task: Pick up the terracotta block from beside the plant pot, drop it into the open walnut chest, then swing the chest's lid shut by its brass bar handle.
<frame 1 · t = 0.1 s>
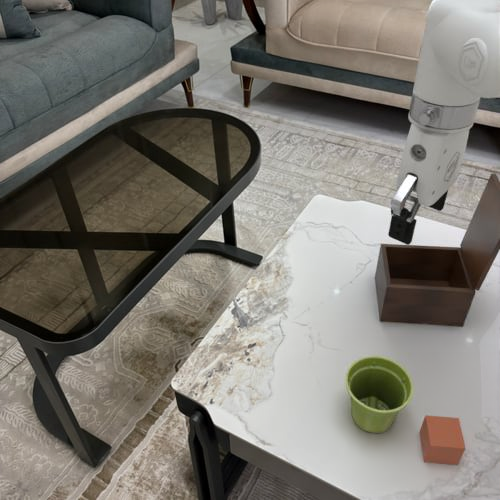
hand: (416, 222, 70), 26 cm above the table, tool pointing down, fingers open, 9 cm apart
lid: (496, 233, 82), point 17 cm above the table, hinge at 95.0°
plant pot: (371, 416, 76), on the table
chest: (416, 300, 94), on the table
block: (438, 448, 72), on the table
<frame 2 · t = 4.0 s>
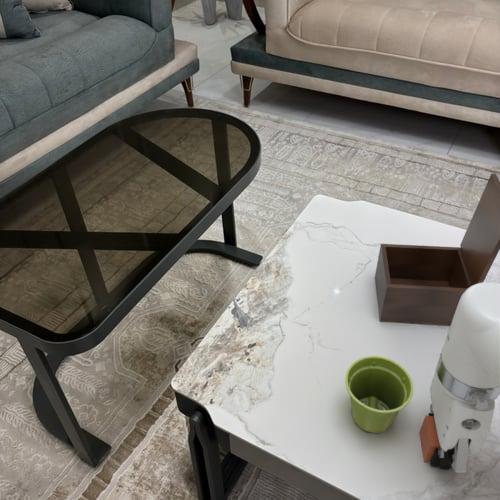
hand: (438, 446, 72), 0 cm above the table, tool pointing down, fingers closed on block, 4 cm apart
block: (438, 448, 72), on the table, touching gripper
everything else where it was.
when the fingers open (6 cm above the table, at t = 11.7 s): block stays where it is, resting on chest.
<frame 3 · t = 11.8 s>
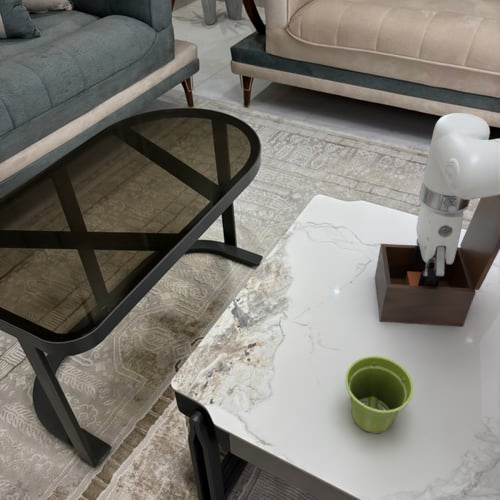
hand: (423, 275, 90), 7 cm above the table, tool pointing down, fingers open, 6 cm apart
block: (417, 298, 94), point 1 cm above the table, touching chest
everything else where it was.
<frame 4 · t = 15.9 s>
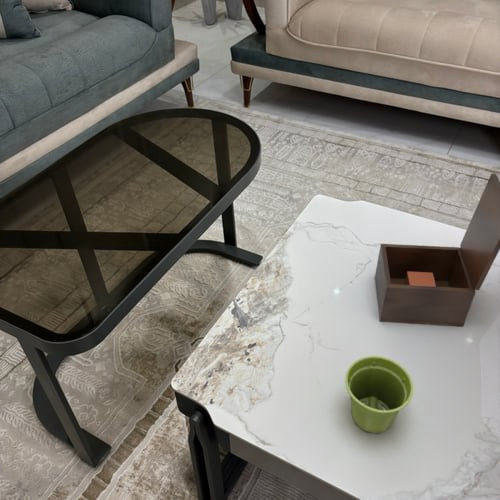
lid: (496, 233, 82), point 17 cm above the table, hinge at 95.0°, touching gripper
everything else where it was.
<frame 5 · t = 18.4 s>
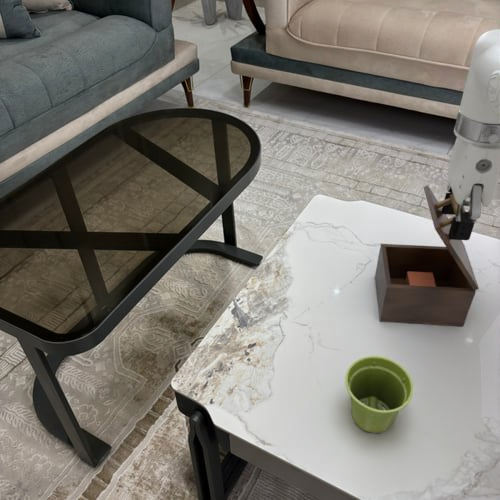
hand: (454, 225, 82), 18 cm above the table, tool pointing down, fingers closed on lid, 6 cm apart
lid: (462, 232, 83), point 17 cm above the table, hinge at 54.6°, touching gripper
everything else where it was.
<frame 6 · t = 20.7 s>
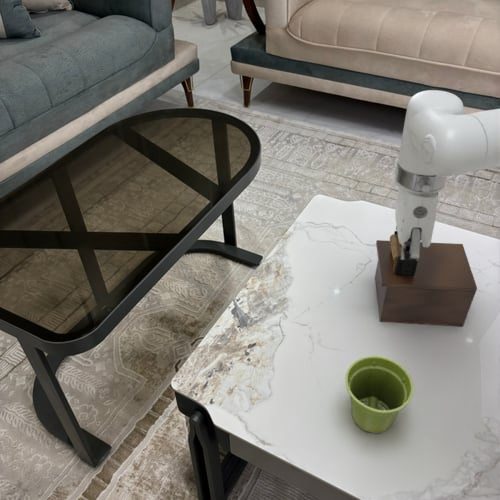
hand: (402, 261, 88), 10 cm above the table, tool pointing down, fingers closed on lid, 6 cm apart
lid: (425, 256, 87), point 11 cm above the table, hinge at -0.2°, touching chest, gripper
everything else where it was.
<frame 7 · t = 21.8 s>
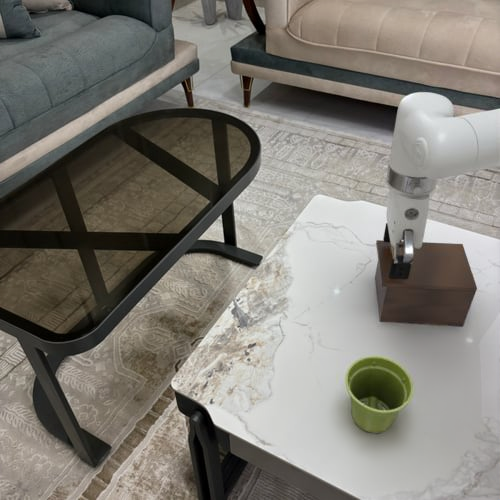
hand: (394, 258, 88), 10 cm above the table, tool pointing down, fingers open, 9 cm apart
lid: (425, 256, 87), point 11 cm above the table, hinge at -0.2°, touching chest
everything else where it was.
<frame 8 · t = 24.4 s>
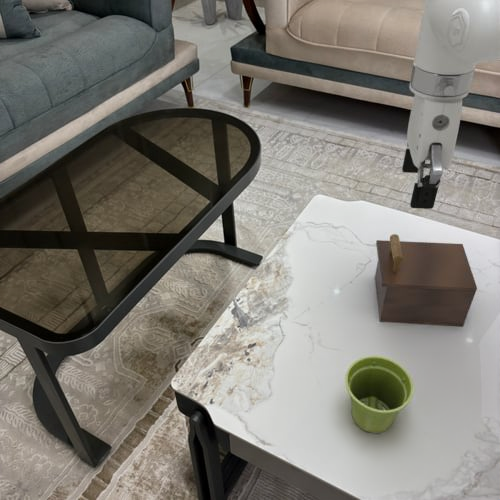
hand: (416, 188, 76), 26 cm above the table, tool pointing down, fingers open, 9 cm apart
nothing on the table moved.
at the end: block inside the target area in the chest (0.1 cm from its centre), point 0.8 cm above the chest's base; lid at +0° (first picture: +95°) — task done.
